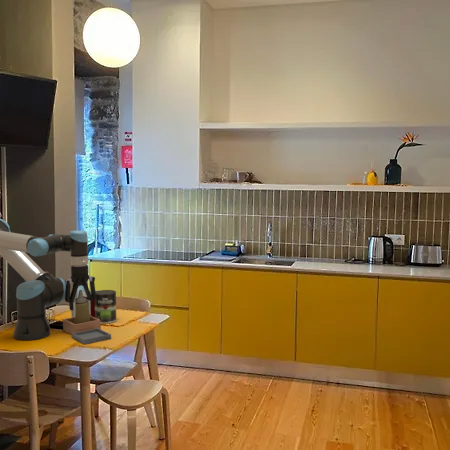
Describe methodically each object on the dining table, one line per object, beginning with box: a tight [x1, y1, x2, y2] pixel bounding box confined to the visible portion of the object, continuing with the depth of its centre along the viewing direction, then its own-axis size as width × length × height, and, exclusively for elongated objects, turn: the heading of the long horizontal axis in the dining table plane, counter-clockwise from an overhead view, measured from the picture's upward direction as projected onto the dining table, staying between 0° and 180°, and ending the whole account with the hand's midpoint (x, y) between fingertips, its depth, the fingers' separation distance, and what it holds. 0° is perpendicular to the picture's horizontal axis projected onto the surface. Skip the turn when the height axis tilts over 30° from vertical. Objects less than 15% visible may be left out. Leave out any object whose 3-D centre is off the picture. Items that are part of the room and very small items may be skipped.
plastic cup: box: [82, 289, 99, 317], centre depth 276 cm, size 11×11×12 cm
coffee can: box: [95, 289, 117, 325], centre depth 267 cm, size 10×10×14 cm
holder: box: [62, 316, 102, 335], centre depth 252 cm, size 12×12×5 cm
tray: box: [71, 328, 112, 345], centre depth 240 cm, size 12×12×2 cm
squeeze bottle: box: [71, 289, 90, 324], centre depth 251 cm, size 8×8×18 cm
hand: (81, 315), depth 251 cm, fingers closed on squeeze bottle, 6 cm apart
